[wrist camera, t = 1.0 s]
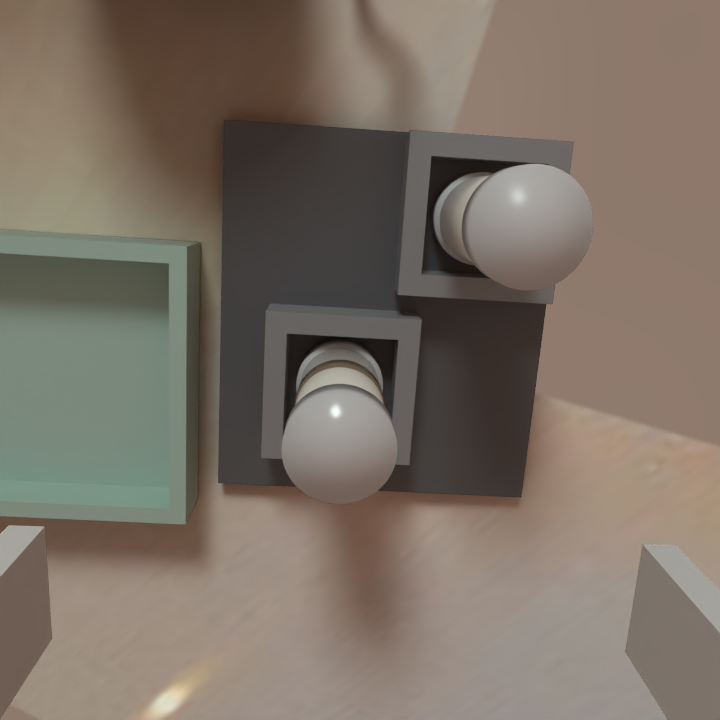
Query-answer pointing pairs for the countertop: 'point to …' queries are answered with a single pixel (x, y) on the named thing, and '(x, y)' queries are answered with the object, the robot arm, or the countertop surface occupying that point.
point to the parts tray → (99, 377)
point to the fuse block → (394, 289)
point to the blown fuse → (339, 425)
